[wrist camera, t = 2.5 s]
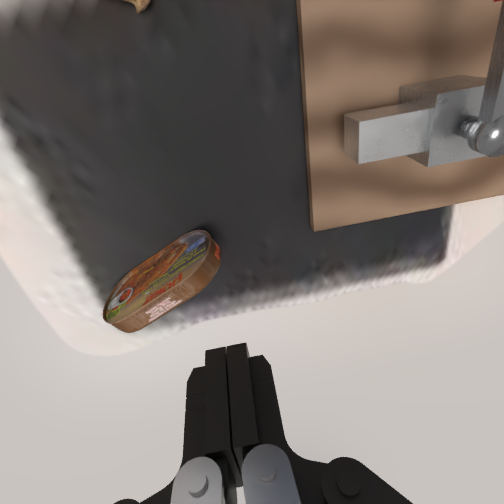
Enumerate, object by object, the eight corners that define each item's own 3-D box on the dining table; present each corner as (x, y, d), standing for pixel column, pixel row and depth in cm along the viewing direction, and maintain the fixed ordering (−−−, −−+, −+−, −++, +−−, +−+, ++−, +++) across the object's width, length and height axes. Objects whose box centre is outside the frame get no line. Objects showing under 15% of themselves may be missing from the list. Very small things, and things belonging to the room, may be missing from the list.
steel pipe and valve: (337, 97, 31) (363, 108, 26) (521, 63, 32) (583, 66, 27) (338, 159, 35) (361, 180, 29) (505, 128, 35) (557, 142, 30)
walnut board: (296, 0, 28) (300, -2, 27) (567, -49, 29) (584, -54, 27) (310, 225, 40) (314, 231, 39) (502, 188, 41) (512, 192, 39)
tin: (208, 218, 38) (208, 257, 31) (224, 237, 40) (228, 279, 32) (110, 283, 41) (90, 333, 34) (128, 298, 43) (113, 349, 36)
